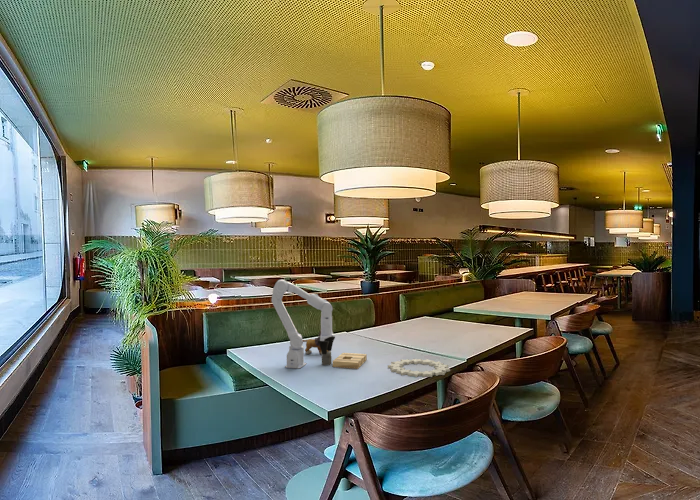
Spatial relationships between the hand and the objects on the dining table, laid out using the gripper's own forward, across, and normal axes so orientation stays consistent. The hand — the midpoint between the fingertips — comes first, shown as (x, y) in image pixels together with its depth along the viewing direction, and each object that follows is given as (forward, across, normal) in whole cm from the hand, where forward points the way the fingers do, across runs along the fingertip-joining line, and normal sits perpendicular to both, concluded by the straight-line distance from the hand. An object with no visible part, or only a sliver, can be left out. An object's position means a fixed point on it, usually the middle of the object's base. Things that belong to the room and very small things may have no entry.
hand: (326, 352), depth 226 cm
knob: (+6, 0, 0) cm, 6 cm away
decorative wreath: (+7, +4, -46) cm, 47 cm away
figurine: (+6, +20, +14) cm, 25 cm away
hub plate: (+6, +5, -11) cm, 13 cm away
